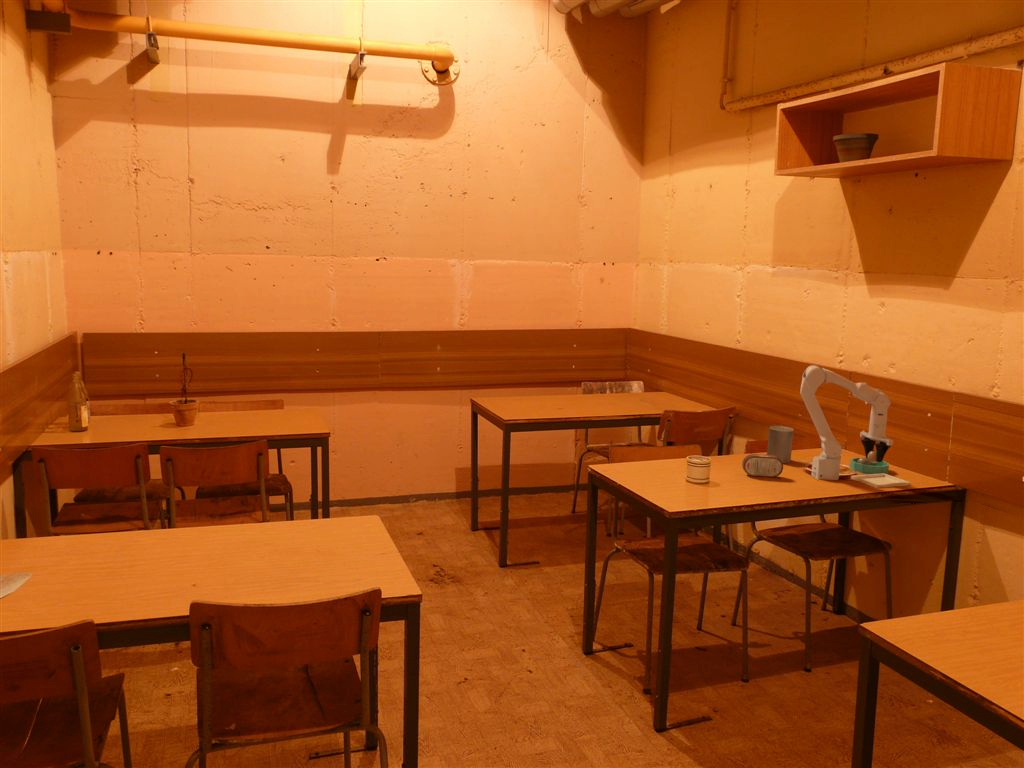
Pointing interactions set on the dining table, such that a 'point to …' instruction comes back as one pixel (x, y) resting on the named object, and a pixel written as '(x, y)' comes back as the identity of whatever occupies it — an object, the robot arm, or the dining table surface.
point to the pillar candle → (780, 442)
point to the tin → (762, 465)
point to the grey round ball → (864, 461)
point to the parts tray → (880, 480)
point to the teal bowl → (869, 467)
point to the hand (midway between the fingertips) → (874, 459)
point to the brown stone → (872, 456)
